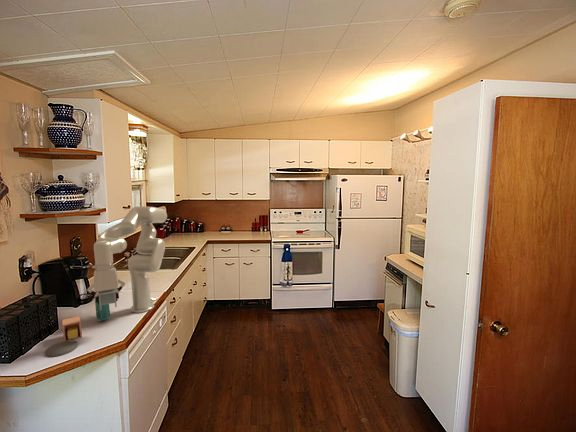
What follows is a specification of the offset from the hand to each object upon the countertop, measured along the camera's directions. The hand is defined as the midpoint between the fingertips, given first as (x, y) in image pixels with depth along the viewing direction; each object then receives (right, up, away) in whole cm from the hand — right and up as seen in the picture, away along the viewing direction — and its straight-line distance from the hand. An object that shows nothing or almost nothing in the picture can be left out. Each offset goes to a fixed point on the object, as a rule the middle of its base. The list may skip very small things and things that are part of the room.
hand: (107, 301), depth 155 cm
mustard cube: (-16, -16, -2) cm, 23 cm away
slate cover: (0, -2, 0) cm, 2 cm away
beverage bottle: (-10, -14, +14) cm, 22 cm away
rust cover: (-16, -16, -2) cm, 22 cm away
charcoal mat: (-13, -18, -14) cm, 26 cm away
